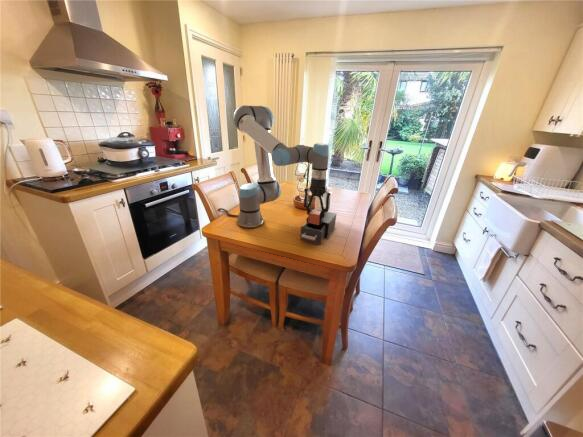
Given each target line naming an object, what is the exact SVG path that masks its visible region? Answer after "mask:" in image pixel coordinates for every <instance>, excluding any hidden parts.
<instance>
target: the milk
mask: <svg viewBox="0 0 583 437" xmlns="http://www.w3.org/2000/svg"><path fill="white" fill-rule="evenodd" d="M326 189H327V191H329V192H331V189H328V186H327V185H326ZM326 197H327V196H326V193H325V194H324V202H325V208H326ZM314 201H315V202H314V210H316V209H317V210H322V209H321V203H320V199H319V197H317V196H315V199H314Z"/></svg>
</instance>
